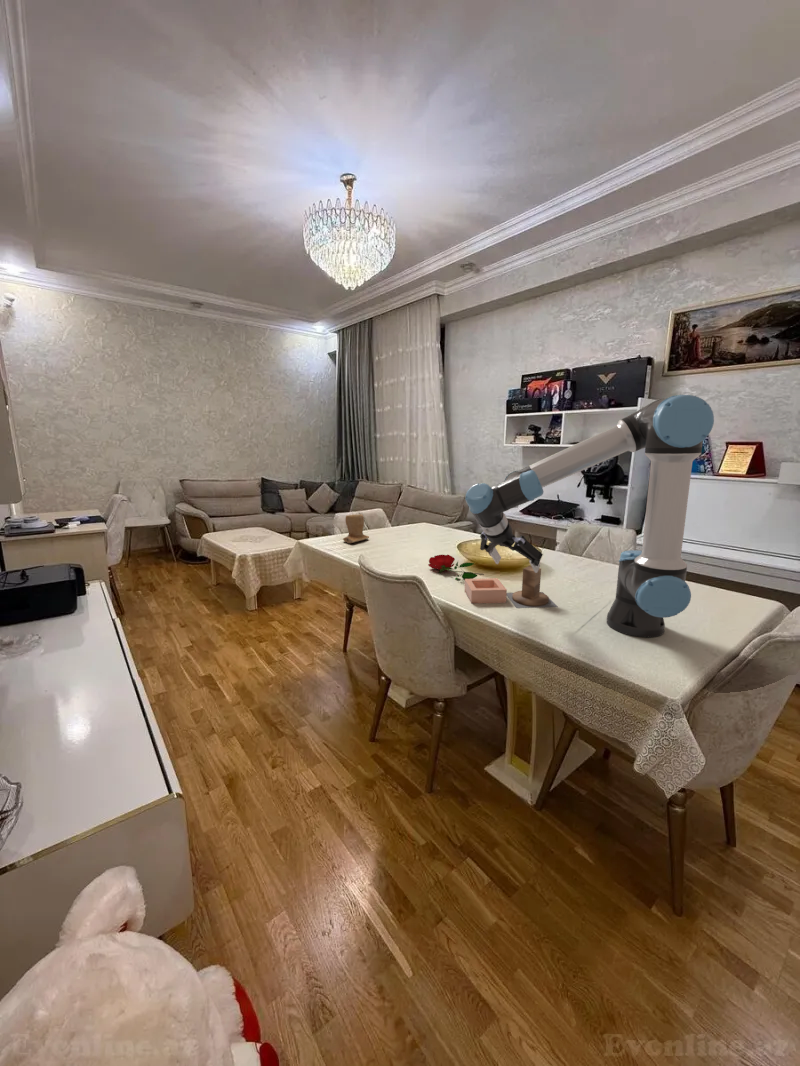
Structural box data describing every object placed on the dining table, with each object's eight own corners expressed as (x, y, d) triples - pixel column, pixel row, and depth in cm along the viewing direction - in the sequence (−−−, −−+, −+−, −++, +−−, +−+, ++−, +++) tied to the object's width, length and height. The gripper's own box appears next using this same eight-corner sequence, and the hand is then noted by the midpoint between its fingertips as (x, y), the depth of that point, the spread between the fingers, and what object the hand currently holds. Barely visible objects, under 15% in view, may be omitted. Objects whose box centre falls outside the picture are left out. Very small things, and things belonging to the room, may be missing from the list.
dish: (506, 603, 146) (506, 589, 145) (471, 604, 146) (471, 590, 145) (496, 591, 158) (497, 578, 157) (464, 591, 158) (464, 578, 157)
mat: (558, 608, 142) (558, 607, 142) (516, 609, 142) (516, 608, 142) (542, 593, 156) (542, 592, 156) (504, 593, 155) (504, 592, 155)
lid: (554, 599, 149) (556, 568, 147) (539, 609, 140) (541, 576, 138) (522, 591, 157) (524, 561, 154) (506, 600, 148) (507, 569, 146)
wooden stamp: (356, 536, 245) (355, 511, 242) (372, 539, 238) (371, 513, 235) (337, 542, 234) (336, 515, 230) (353, 545, 226) (352, 517, 223)
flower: (488, 556, 163) (432, 547, 186) (474, 572, 158) (418, 561, 181) (495, 574, 167) (440, 563, 190) (482, 590, 162) (427, 577, 185)
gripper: (454, 530, 131) (479, 566, 145) (531, 544, 114) (550, 583, 128) (464, 510, 133) (488, 548, 147) (541, 521, 117) (559, 562, 131)
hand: (517, 564), depth 138 cm, fingers open, 13 cm apart
